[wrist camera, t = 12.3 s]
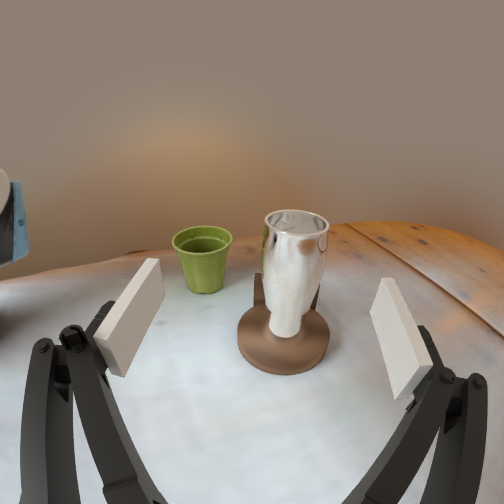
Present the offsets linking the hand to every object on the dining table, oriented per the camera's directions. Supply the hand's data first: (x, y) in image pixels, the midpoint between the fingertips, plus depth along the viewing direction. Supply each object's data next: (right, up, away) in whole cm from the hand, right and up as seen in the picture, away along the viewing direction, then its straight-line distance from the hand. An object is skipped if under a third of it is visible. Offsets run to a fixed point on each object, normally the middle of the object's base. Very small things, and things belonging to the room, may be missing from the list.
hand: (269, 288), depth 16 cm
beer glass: (+3, -8, +19) cm, 21 cm away
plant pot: (-9, -4, +31) cm, 33 cm away
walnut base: (+3, -10, +20) cm, 23 cm away
